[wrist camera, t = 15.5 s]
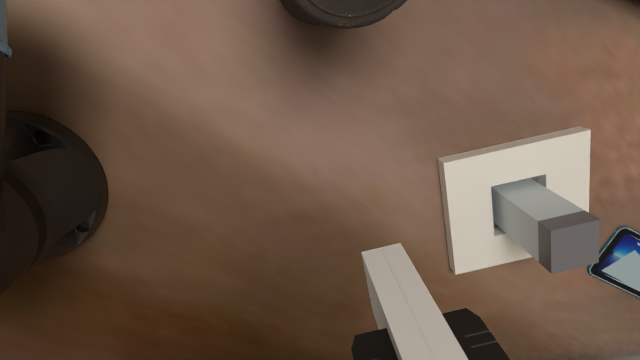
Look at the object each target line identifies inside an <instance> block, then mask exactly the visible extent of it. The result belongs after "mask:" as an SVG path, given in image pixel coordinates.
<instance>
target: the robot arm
mask: <svg viewBox="0 0 640 360" xmlns="http://www.w3.org/2000/svg"><path fill="white" fill-rule="evenodd" d="M11 56H12V51H11V48H10V47H9V46H8V38H7V5H6V0H0V296H1V295H2V294H3V293H4V292H5V291H6V290H7V289H8V288H9V287H10V286H11V285H12V284H13V283H14V282H15V281H16V280H18V279H19V278H20V277H21V276H22V275H23V274H24V273H25V272H26V271H27V270H28V269H29V268H30V267H32V266H35V265H37V264H40V263H43V262H45V261H48V260H51V259H53V258H56V257H59V256H61V255H64V254H66V253H68V252H70V251H71V250H73V249H75V248H76V247H77V246H79V245H80V244H81V243H82V242H84V241H85V240H86V239H87V237H88V236H89V235H90V234H91V233H92V232H93V231H94V230H95V229H96V228H97V226H98V225H99V223H100V222H101V220H102V218H103V216H104V213H105V210H106V207H107V201H108V188H107V182H106V177H105V174H104V171H103V169H102V167H101V164H100V162H99V161H98V159H97V157H96V156H95V154H94V153H93V151H92V150H91V149H90V148H89V146H88V145H87V144H86V143H85V142H84V141H83V140H82V139H81V138H80V137H79V136H77V135H76V134H75V133H74V132H72V131H71V130H69V129H68V128H66V127H65V126H63V125H61V124H59V123H58V122H56V121H53V120H51V119H49V118H46V117H43V116H40V115H36V114H32V113H26V112H14V111H12V112H6V96H7V58H8V57H11ZM361 254H362V259H363V264H364V269H365V274H366V280H367V285H368V290H369V295H370V300H371V305H372V311H373V314H374V317H375V320H376V323H377V325H378V328H379V330H376V331H371V332H367V333H363V334H359V335H355V338H354V341H353V345H352V354H353V358H354V360H510V359H509V358H508V356H507V355H506V353H505V352H504V350H503V349H502V348H501V346H500V345H499V343H497V341H496V339H495V338H494V336H493V335H492V334H491V332H489V329H488V328H487V326H486V325H485V324H484V322H483V321H482V319H481V318H480V317H479V316H477V315H476V314H474V313H473V312H471V311H470V310H468V309H467V308H464V309H460V310H456V311H451V312H447V313H443V314H441V312H440V310H439V308H438V307H437V305H436V303H435V302H434V300H433V298H432V296H431V295H430V293H429V291H428V290H427V288H426V286H425V284H424V283H423V281H422V279H421V277H420V276H419V274H418V272H417V271H416V269H415V267H414V265H413V264H412V262H411V260H410V259H409V257H408V255H407V253H406V252H405V250H404V248H403V247H402V245H401V243H398V244H394V245H390V246H385V247H381V248H377V249H372V250H368V251H364V252H361Z"/></svg>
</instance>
